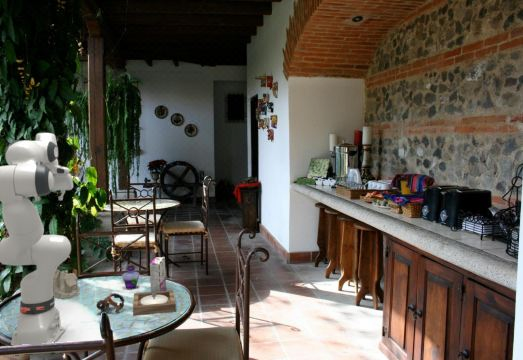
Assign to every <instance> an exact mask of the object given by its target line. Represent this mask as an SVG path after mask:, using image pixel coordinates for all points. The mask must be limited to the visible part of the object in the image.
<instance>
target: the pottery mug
mask: <svg viewBox="0 0 523 360" xmlns="http://www.w3.org/2000/svg"><path fill="white" fill-rule="evenodd" d="M112 297H114V299H119V300H120V302H119V304H118V302H116V301H114V300H113V299H112ZM110 306H112V307H114V308H115V310H114V313H116V314H119V312H121V310H122V309H123V308H124V306H125V297H123V296H122V294H119V293H110V294H109V295H108V296H106V297H105V298H104V299H100V300H98V301H97V302H96V308H97V309H98V310H99V311H100V312H103V313H104V312H105V310H106V308H109V307H110Z"/></svg>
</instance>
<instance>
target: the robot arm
mask: <svg viewBox="0 0 523 360" xmlns="http://www.w3.org/2000/svg"><path fill="white" fill-rule="evenodd" d="M4 156H5V160H6V163H7V164H8V165H1V166H0V202H1V204H2V209H1V211H2V219H3V223H4V226H5V229H6V230H7V233H8V235H9V236H7V237H6V238H4V239H2V240H0V263H1V265H6V266H16V267H17V266H30V265H35V266H36V270H34V271H32V272H29V273H28V274H26V275H25V276H24V277H23V278H22V279H21V281H20V299H21V300H20V303H19V313H18V314H17V318H18V319H17V326H16V327H15V331H14V333H12V338H11V342H10V346H11V345H22V344H42V343H52V342H55V343H57V341H58V340H59V339H60V338H61V337H62V336H63V334H65V332H66V327H64V326H62V325H61V316H60V315H61V314H60V310H59V309H58V308H57V307H56V302H55V301H56V298H54V296H53V277H54V273H55V271H56V269H57V270H58V267H60V265H61V264H62V263H63V262H65V261H66V260H67V259H68V258H69V256H70V254H71V253H72V252H71V251H72V243H71V242H70V240H69V239H68V237H67V236H66V235H65V236H64V235H61V234H60V235H59V234H44V232H45V228H44V224H43V222H42V221H43V220H42V219H41V217H40V214H39V211H38V210H37V208H36V206H35V205H34V204H33V202H32V201H31V200H30V199H29V198H30V197H34V199H35V202H41V200H40V197H43V196H47V195H49V194H51V192H53V191H60V193H61V194H60V195H58V197H57V198H58V201H63V199H64V195H65V194H66V191H72V189H73V188H74V181H73V180H74V179H73V176H72V174H71V173H70V170H71V169H70V168H69V167H66V166H62V165H60V164H59V161H58V158H59V146H58V143H57V138H56V135H55V134H54V133H52V132H39V133H36V135H35V140H12V141H11V142H10V143H9V144H8V146H6V147H5V149H4Z"/></svg>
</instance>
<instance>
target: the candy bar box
mask: <svg viewBox="0 0 523 360" xmlns="http://www.w3.org/2000/svg"><path fill="white" fill-rule="evenodd" d="M149 274H150V275H149V276H150V292H152V285H156V291H166V289H167V283H166V281H167V280H166V279H167V278H166V258H165V256H162V257H161V256H160V257H159V256H158V257H157V256H156V257H154V258H153V259H152V261H151V262H150V263H149Z"/></svg>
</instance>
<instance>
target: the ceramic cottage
mask: <svg viewBox="0 0 523 360" xmlns="http://www.w3.org/2000/svg"><path fill="white" fill-rule="evenodd" d="M80 294H81V287H80V285H78V277H77V276H76V274H75V272H74V273H73V272H72V273H71V272H70V273H69V271H68V270H62V271H61V270H60V269H58V268H57V269H56V271H55V273H54V277H53V296H54V299H58V300H59V299H60V300H70V299H74V298H76V297H78V296H79V295H80Z"/></svg>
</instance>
